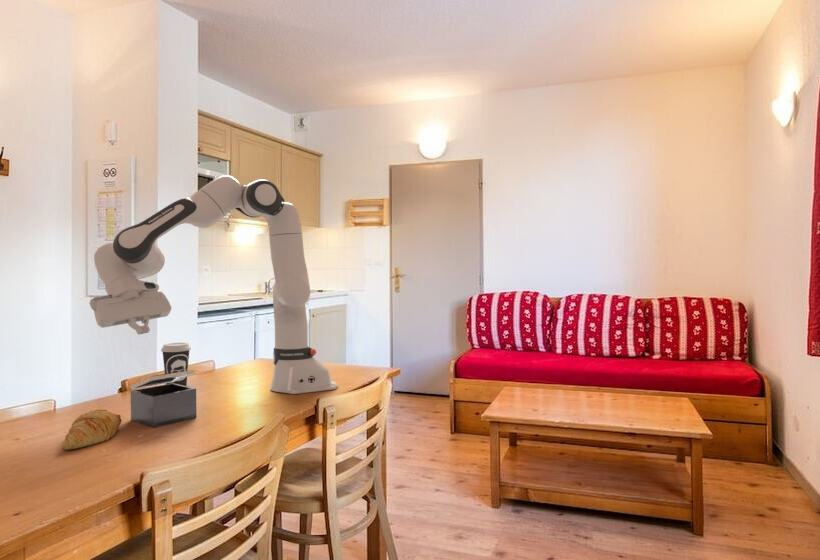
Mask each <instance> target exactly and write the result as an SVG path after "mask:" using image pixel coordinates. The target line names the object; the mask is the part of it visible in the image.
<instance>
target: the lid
mask: <svg viewBox="0 0 820 560" xmlns="http://www.w3.org/2000/svg"><path fill="white" fill-rule="evenodd" d="M195 373H196V371H195V369H190V370H188V371H184V372H178V373H175V372H173V373H167V374H165V373H162V374H155V375H151V376H150V377H147V378H146V379H143V380H140V381H139V382H136V383H134V384H131V385H130V390H137V389H143V388H148V387H154V386H160V385H165V384H166V383H171V382H175V381H177V380H180V379H182V378H185V377H187V378H188V377H189V376H191V375H192V376H193V375H194V374H195Z"/></svg>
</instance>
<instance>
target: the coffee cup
mask: <svg viewBox="0 0 820 560" xmlns="http://www.w3.org/2000/svg"><path fill="white" fill-rule="evenodd" d="M190 351H191V346H190V345H189V342H168V343H164V344H163V346H162V347H161V350H160V352H162V361H163V370H164V374H167V373H173V372H175V373H178V372H184V371H189V370H188V369H189V358H190ZM171 383H175V384H179V385H183V386H188V376H187V377H185V378H182V379H180V380H177V381H175V382H171ZM171 383H165V384H171Z"/></svg>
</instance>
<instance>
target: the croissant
mask: <svg viewBox="0 0 820 560" xmlns="http://www.w3.org/2000/svg"><path fill="white" fill-rule="evenodd" d="M121 424H122V417H121V414H117V413H113V412H111V411H108V410H107V409H95V410H90V411H89V412H86V413H84V414H81V415H80V416H78V417H77V418H76V419H75V420H74V421H73V422H72V423H71V425H70V426H71V427H69V430H68V433H67V434H66V435H65V438H64V440H63V441H62V445H61V446H62V449H64V450H66V451H69V450H75V449H80V448H85V447H89V446H92V445H95V444H99V442H100V443H103V442H105V441H108V440H109V439H111V438H112V437H114V436H115V435H116V434H117V431H118V429H119V427H120V426H121ZM110 437H111V438H110ZM104 440H105V441H104Z"/></svg>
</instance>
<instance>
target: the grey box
mask: <svg viewBox="0 0 820 560" xmlns="http://www.w3.org/2000/svg"><path fill="white" fill-rule="evenodd" d="M196 418H197V388H195V387H192V386H188V385H186V386H183V385H179V384H175V383H171V384H166V383H165V384H159V385H154V386H148V387H142V388H137V389H130V420H131V421H132V420H133V422H135V421H136V423H138V422H139V424H141V423H142V424H141V425H144V424H145V426H147V425H148V427H151V428H158V426H159V427H161V426H162V427H163V426H167V425H171V424H176V423H178V422H179V423H180V422H182V421H187V420H191V419H196Z"/></svg>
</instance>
